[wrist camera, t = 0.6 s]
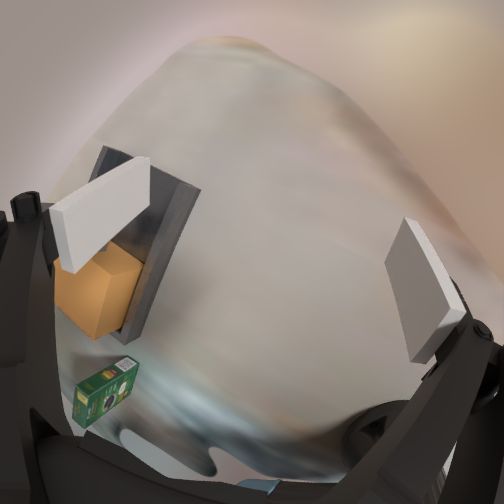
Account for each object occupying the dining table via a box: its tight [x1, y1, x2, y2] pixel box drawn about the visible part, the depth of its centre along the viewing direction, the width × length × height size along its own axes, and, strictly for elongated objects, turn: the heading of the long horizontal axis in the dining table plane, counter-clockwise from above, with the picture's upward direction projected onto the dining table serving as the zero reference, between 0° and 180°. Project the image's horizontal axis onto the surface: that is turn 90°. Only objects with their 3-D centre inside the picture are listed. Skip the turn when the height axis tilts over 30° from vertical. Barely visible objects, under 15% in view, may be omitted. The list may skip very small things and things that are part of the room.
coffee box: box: [72, 356, 139, 429], centre depth 37 cm, size 8×3×13 cm, turn 155°
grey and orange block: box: [41, 203, 145, 341], centre depth 32 cm, size 16×12×16 cm
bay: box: [88, 145, 201, 345], centre depth 39 cm, size 24×16×4 cm, turn 153°
